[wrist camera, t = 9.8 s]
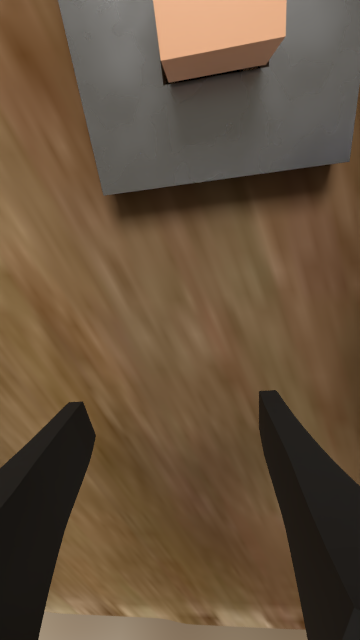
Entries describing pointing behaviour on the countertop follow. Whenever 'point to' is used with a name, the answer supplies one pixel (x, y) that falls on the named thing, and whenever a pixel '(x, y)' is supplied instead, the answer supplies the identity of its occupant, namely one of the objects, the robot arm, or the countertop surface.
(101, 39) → the rail plate
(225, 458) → the countertop surface
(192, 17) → the tall peach brick
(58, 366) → the countertop surface
